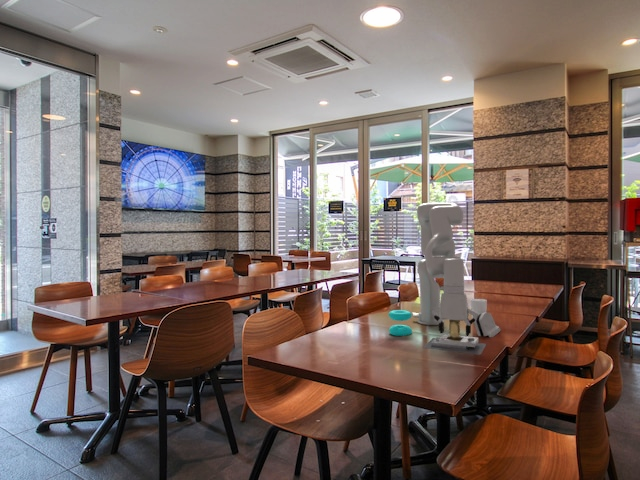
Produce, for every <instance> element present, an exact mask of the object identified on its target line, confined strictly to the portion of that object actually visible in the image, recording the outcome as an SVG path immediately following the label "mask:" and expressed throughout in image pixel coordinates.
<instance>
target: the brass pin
mask: <svg viewBox="0 0 640 480" xmlns="http://www.w3.org/2000/svg"><path fill="white" fill-rule="evenodd" d="M448 322H449V323H448V325H449V327H448V328H449V329H448V331H449V333H448V335H449V339H451V340H460V336H461V321H459V320H448Z"/></svg>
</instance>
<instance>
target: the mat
mask: <svg viewBox="0 0 640 480" xmlns="http://www.w3.org/2000/svg"><path fill="white" fill-rule="evenodd" d="M435 338H436V337H433V338H431V339H430V340H429V341H428V342H427V343H425V344H424V346H422V348H423V349H428V350H436V351H445V352H453V353H461V354H469V355H470V354H471V355H477V356H479V355H482V353H483V352H484V350H485V348H486V346H487V343H481V342H478V343H477V345H476V346H475V347H474V348H473V349H471V348H468V349H467V350H459V349H450V348H442V347H433V346H431V342H432V341H433V340H434V339H435Z"/></svg>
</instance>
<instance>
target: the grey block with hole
mask: <svg viewBox="0 0 640 480" xmlns="http://www.w3.org/2000/svg"><path fill="white" fill-rule="evenodd" d="M434 338H435V339H434V340H433V341H432V342H431V346H433V347H442V348H450V349H459V350H467V349H468V348H471V349H473V348H474V347H475V346H476V345H477V343H479V337H475V336H466V335H460V340H451V339H449V334H442V336H441V337H440V336H436V337H434Z"/></svg>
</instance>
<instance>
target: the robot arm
mask: <svg viewBox="0 0 640 480" xmlns="http://www.w3.org/2000/svg"><path fill="white" fill-rule="evenodd" d="M416 212H417V214H416V215H417V220H418V222H419V225H420V236H421V237H420V251H421V253H422V255H423V256H424V258H423V259H420V260H419V261H418V264H417V273H418V277H419V278H418V279H419V300H420V301H419V302H420V303H419V307H420V308H419V309H420V311H419V312H418V313H416V312H411V314H412V317H413V318H417V321H416V322H417V323H418V324H421V325H427V326H437V325H438V331H439V332H440V334H443V333H444V332H445V330H444V329H445V327H444V326H445V325H444V322H445V321H444V320H448V321H449V320H459V321H460V322H464V323H465V324H466V325H465V336H467V337H469V336H470V334H471V333H472V332H471V331H472V327H471V326H472V324H474V321H475V320H476V318H477V317H478V314H477V313H475V312H474V311H472V310H471V308H469V303H468V297H467V293H465V265H464V263H465V262H464V259H463V258H460V257H459V256H456V244H455V241H454V240H455V239H453V238H454V232H453V228H452V226H453V225H455V226H456V225H460V224H462V223H463V220H464V212H463V209H462V207H461V206H460V205H458V204H457V203H455V202H425V203H422V204H419V205H418V206H417V210H416ZM442 278H443V285H442V286H440V284H439V283H438V282H437V280H435V279H442ZM441 291H443V292H442V293H441ZM469 314H470V315H471V316H472V315H473V318H472V317H471V319H470V318H469V316H470V315H469Z"/></svg>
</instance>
